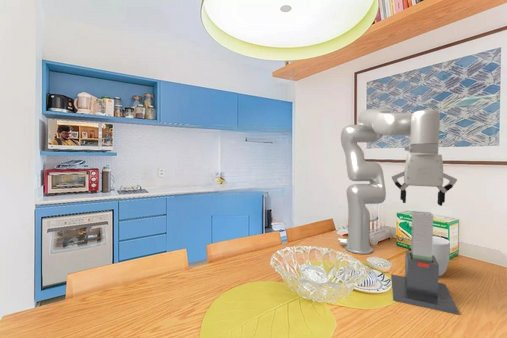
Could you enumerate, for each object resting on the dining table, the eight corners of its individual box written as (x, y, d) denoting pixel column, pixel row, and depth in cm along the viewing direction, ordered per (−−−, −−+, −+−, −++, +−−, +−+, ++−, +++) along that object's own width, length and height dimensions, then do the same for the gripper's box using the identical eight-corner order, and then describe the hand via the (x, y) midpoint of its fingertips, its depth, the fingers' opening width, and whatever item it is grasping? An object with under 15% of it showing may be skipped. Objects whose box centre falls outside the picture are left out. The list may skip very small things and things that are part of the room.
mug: (426, 283, 89) (427, 246, 88) (399, 270, 100) (400, 237, 99) (456, 277, 93) (457, 242, 93) (428, 265, 104) (428, 233, 103)
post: (412, 276, 81) (413, 214, 80) (410, 269, 85) (412, 210, 84) (431, 279, 78) (433, 215, 77) (428, 272, 83) (430, 212, 82)
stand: (393, 300, 78) (393, 262, 78) (391, 278, 93) (391, 246, 92) (457, 314, 71) (459, 272, 71) (444, 288, 86) (446, 253, 85)
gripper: (393, 150, 81) (391, 203, 82) (461, 149, 73) (458, 208, 74) (392, 150, 87) (390, 199, 88) (454, 150, 80) (452, 203, 81)
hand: (421, 203), depth 81 cm, fingers open, 9 cm apart
